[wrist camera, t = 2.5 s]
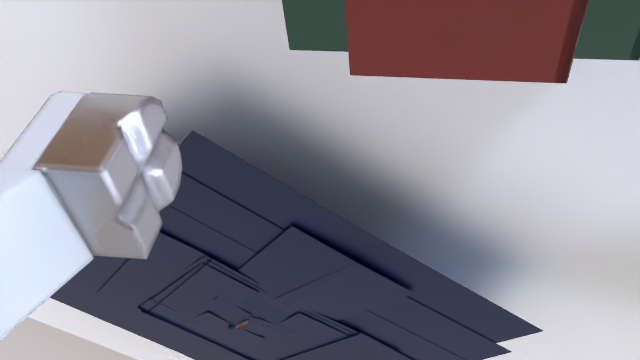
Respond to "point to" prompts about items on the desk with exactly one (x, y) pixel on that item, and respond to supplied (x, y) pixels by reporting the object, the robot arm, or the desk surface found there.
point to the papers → (281, 280)
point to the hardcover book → (593, 43)
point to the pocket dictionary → (464, 38)
